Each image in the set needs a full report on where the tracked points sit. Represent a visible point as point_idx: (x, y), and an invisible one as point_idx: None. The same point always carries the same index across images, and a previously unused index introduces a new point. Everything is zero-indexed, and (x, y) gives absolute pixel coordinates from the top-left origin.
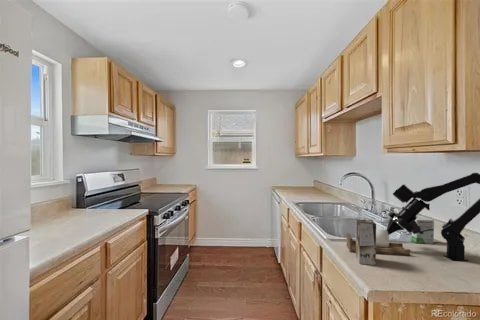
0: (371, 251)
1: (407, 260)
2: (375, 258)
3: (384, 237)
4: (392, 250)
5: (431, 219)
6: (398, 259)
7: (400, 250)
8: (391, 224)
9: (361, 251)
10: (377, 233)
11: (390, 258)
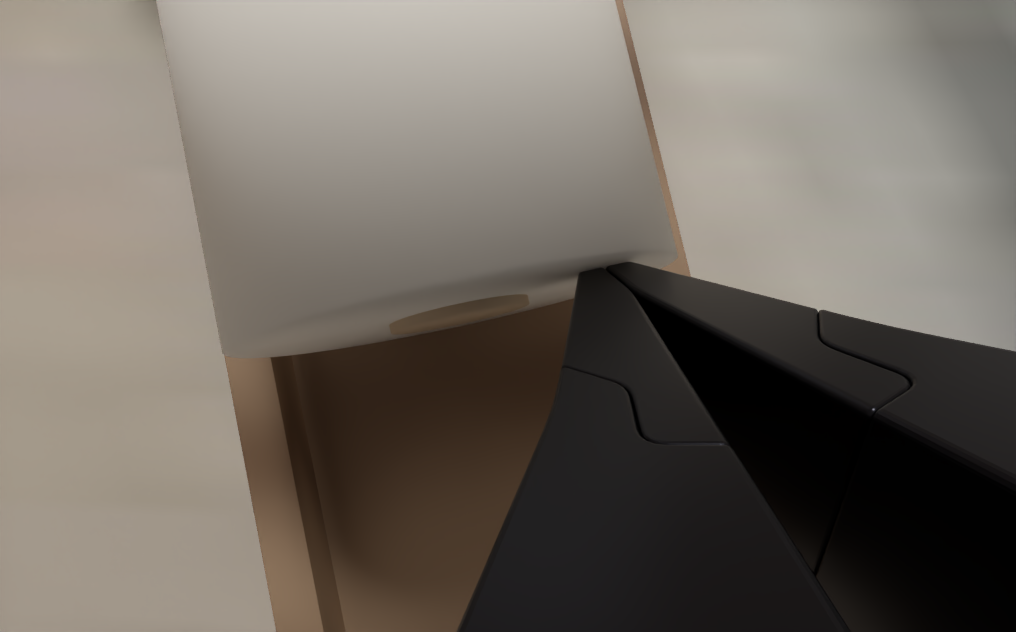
0: None
1: (63, 617)
2: None
3: (201, 240)
4: (244, 415)
5: None
6: (63, 488)
7: (269, 552)
8: (515, 498)
9: None
10: (189, 16)
11: (68, 375)
